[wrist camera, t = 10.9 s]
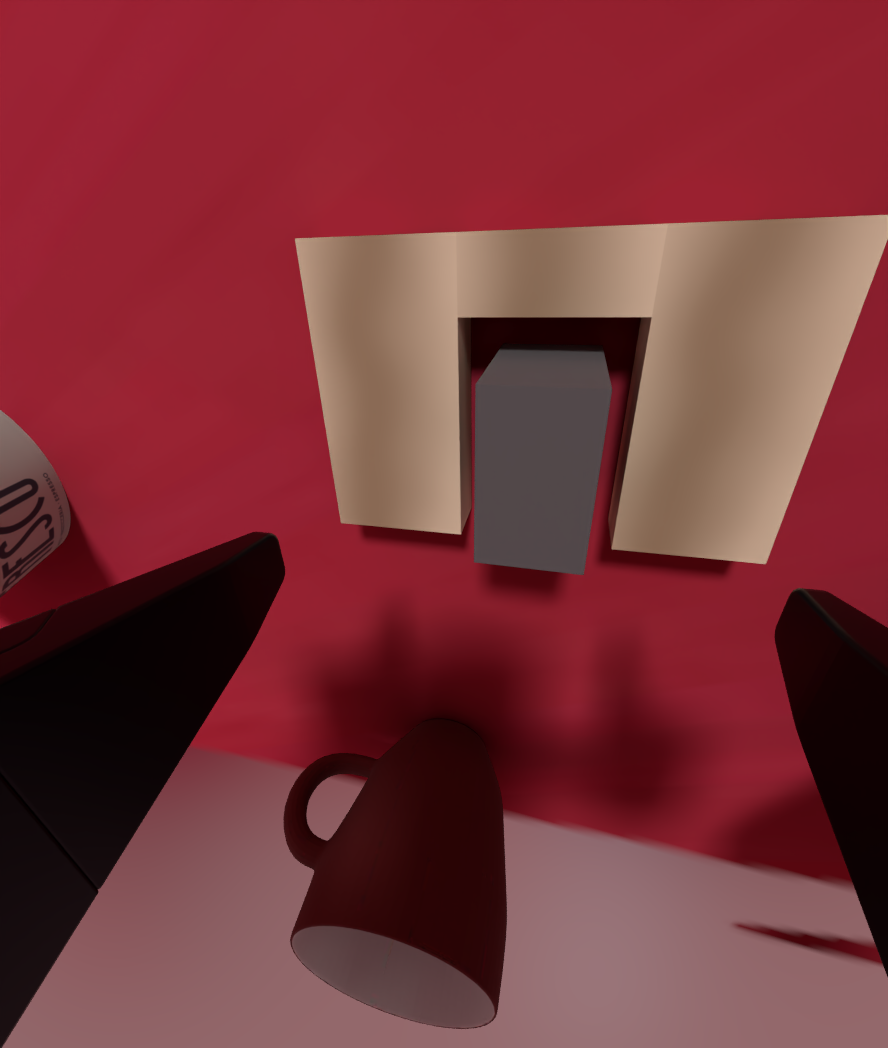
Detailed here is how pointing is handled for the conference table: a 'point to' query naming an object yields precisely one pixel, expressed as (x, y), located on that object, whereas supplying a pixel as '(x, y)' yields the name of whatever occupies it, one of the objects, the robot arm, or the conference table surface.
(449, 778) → the mug
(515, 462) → the grey block
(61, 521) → the food container
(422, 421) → the notch board
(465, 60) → the conference table surface
